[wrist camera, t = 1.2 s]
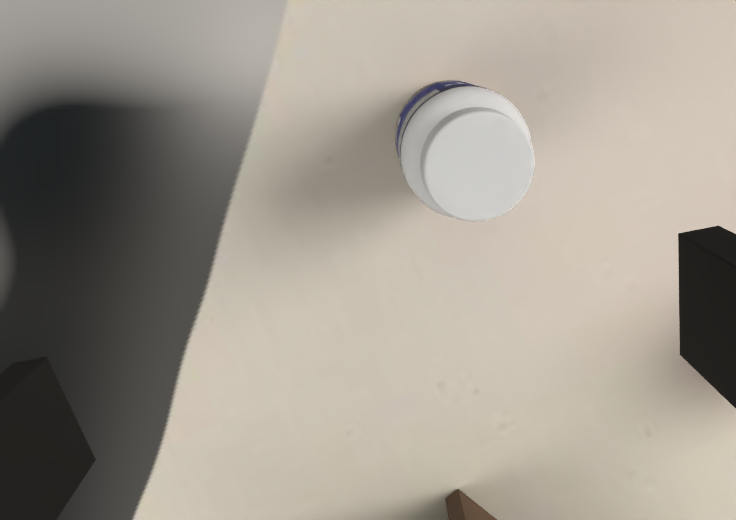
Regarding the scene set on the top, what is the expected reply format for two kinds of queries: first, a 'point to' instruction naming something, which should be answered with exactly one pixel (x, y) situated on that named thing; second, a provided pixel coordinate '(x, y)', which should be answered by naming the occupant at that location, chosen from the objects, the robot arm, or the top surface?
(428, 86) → the pill bottle
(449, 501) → the shelf
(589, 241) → the top surface
